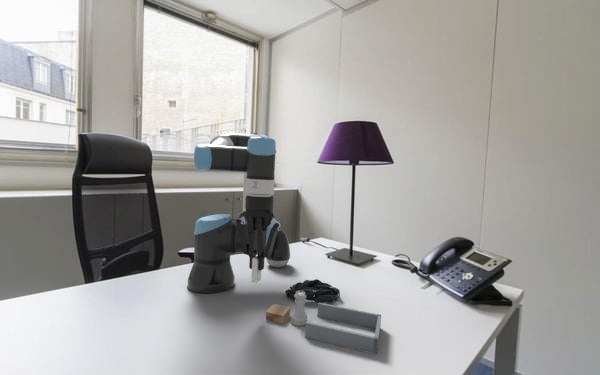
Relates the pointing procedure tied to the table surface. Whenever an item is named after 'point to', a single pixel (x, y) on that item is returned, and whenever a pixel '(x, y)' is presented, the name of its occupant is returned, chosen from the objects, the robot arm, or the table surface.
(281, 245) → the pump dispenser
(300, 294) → the rook chess piece
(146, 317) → the table surface
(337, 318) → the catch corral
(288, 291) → the cable
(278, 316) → the walnut tile
